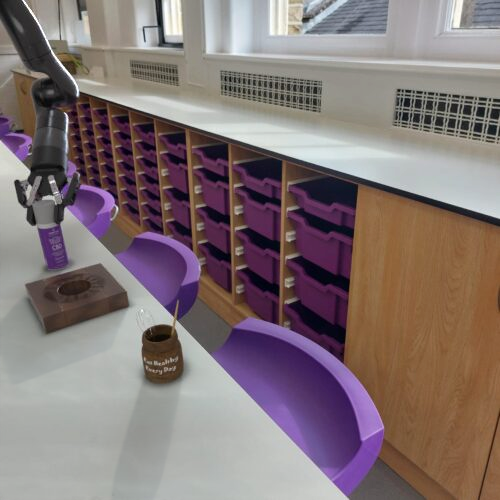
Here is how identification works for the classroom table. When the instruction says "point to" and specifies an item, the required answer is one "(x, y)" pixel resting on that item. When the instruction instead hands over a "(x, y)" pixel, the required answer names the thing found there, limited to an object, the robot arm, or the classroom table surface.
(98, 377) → the classroom table surface
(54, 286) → the socket plate
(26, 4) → the robot arm
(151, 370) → the utensil holder
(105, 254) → the classroom table surface
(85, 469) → the classroom table surface
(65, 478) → the classroom table surface
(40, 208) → the container
